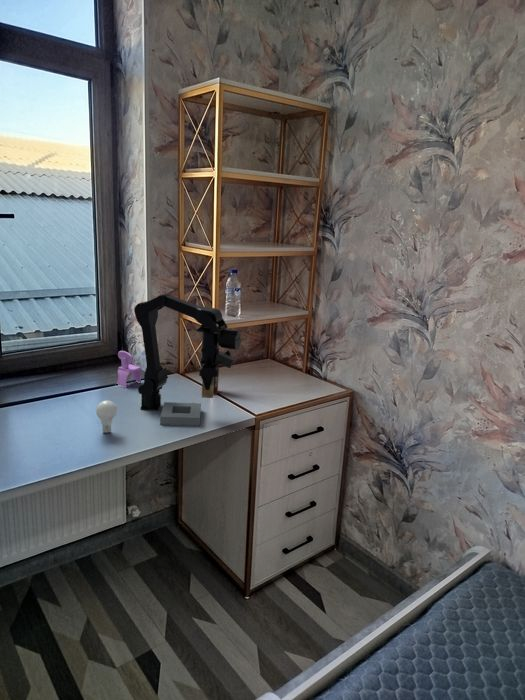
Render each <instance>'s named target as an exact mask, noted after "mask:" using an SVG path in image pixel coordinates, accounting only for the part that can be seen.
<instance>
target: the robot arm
mask: <svg viewBox="0 0 525 700" xmlns="http://www.w3.org/2000/svg"><path fill="white" fill-rule="evenodd" d="M163 308H168V309H170V310H173V311H175V312H178V313H180V314H183V315H186V316H188V317H191V318H192V319H194V320H195V321H196V322H197V323H198V324H200V326H199V327H198V328H197V329H196V332H199V333H201V334H202V335H201V336H202V337H201V350H200V351H201V355H200V367H199V369H198V370H199V372H198V373H199V374H198V376H199V377H201V378H200V379H201V380H203V383H204V386H205V388H206V390H209V389H210V385H211V382H212V378H213V377H218V368H217V365H218V363H219V365H222V366H225V367H226V368H228V369H231V367H232V366H233V364H234V361H235V357H233V355H231V350H235V351H238V350H239V349H240V346H241V344H242V338H241V334H240V330H239V329H231V328H229V326H228V325H227V323H226V322H225V319H224V318H223V314H222V312H221V310H220V309H218V308H216V307H209V306H201V305H196V304H194V303H193V302H190V301H186V300H184V299H181V298H179V297H176V296H174V295H171V294H170V293H168V292H166V293H163V294H162V293H161V294H159V295H157V296H156V297H154V298H153V299H151V300H148V301H143V302H139V303H137V304H136V306H134V315H135V316H134V317H135V319H136V322H137V323H138V325H139V326H140V327H141V332H142V333H141V334H142V339H143V348H144V355H145V362H146V368H145V371H144V373H143V375H144V377H143V383H141V384H140V386H138V387H137V390H138V394H140V395H141V400H140V401H141V403H140V404H141V406H140V410H143V411H144V410H146V411H158V410H159V409H160V407H161V405H162V394H161V391H160V390H162V389H163V387H164V386H165V385H166V384H167V381H168V379H169V376H168V373H167V372H168V370H167V369H168V368H166V367H163V365H161V361H160V353H159V344H158V336H157V328H156V326H157V325H156V324H157V322H158V317H159V310H162V309H163ZM220 348H222V349H226V350H225V351H220ZM214 364H215V365H214ZM218 378H219V377H218Z"/></svg>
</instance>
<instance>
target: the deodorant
mask: <svg viewBox="0 0 525 700" xmlns="http://www.w3.org/2000/svg"><path fill="white" fill-rule="evenodd" d="M214 365H215V364H214ZM217 368H218V377H214V390H213V396H214V395H217V394H218V393H219V392H218V391H219V375H220V374H219V373H220V363H218V365H217Z"/></svg>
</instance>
